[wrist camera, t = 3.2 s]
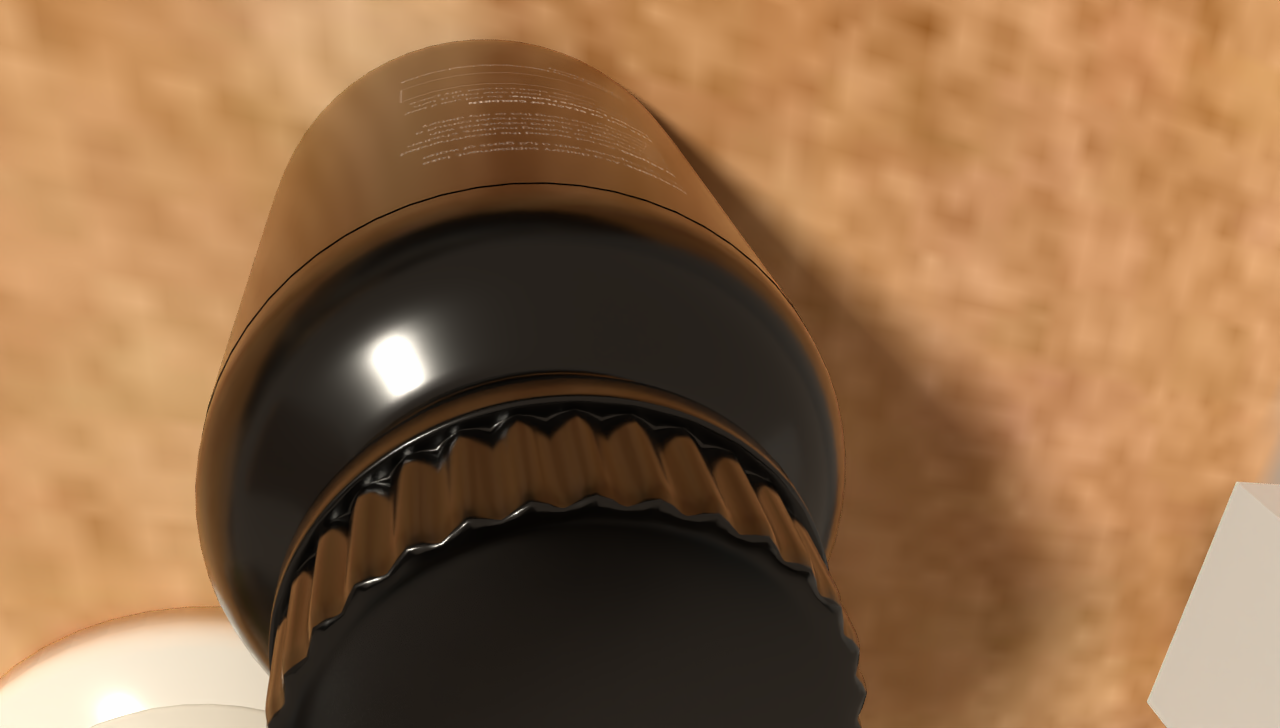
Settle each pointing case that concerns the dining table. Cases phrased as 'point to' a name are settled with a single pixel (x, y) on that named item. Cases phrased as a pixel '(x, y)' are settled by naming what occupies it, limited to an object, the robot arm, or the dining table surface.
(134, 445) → the dining table surface
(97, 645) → the dish
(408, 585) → the supplement bottle
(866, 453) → the dining table surface
